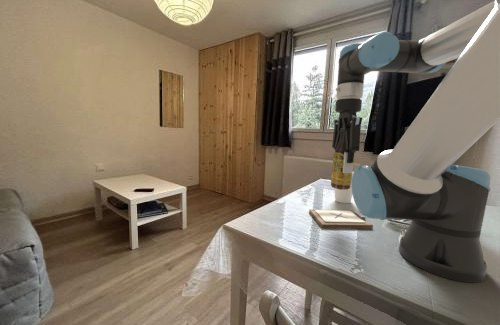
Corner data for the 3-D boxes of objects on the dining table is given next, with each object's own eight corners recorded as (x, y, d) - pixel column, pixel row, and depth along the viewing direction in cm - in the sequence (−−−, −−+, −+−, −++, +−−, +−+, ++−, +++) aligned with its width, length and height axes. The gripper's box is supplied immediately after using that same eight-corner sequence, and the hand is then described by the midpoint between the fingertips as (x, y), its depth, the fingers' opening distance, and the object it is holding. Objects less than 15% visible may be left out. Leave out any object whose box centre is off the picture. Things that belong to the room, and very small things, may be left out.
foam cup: (358, 204, 88) (361, 174, 87) (336, 204, 89) (338, 173, 87) (348, 198, 98) (351, 170, 96) (328, 197, 98) (330, 169, 96)
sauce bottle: (326, 186, 73) (330, 128, 70) (340, 185, 75) (345, 128, 72) (340, 191, 66) (346, 127, 64) (355, 189, 69) (361, 128, 66)
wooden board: (372, 228, 66) (373, 222, 66) (322, 228, 65) (322, 221, 65) (351, 213, 79) (352, 207, 78) (309, 212, 78) (309, 206, 78)
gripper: (325, 103, 76) (320, 166, 79) (352, 93, 57) (344, 176, 60) (345, 103, 76) (340, 166, 79) (379, 94, 57) (370, 177, 60)
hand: (342, 170), depth 70 cm, fingers closed on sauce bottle, 6 cm apart
